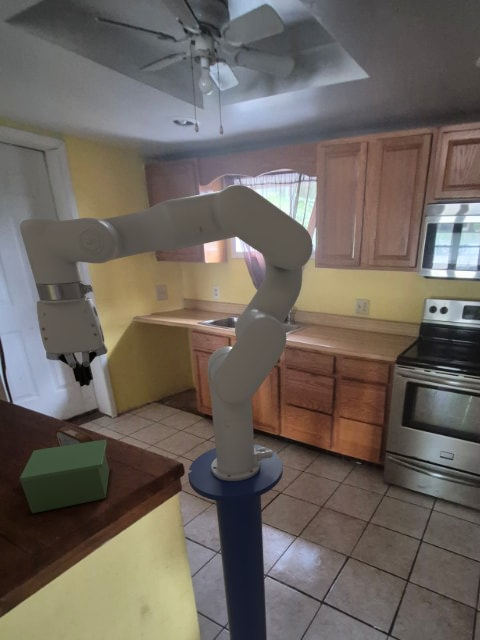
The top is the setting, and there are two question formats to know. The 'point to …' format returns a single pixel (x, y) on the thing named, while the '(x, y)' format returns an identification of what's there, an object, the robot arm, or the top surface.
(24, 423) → the top surface
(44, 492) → the chest
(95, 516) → the top surface
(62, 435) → the tin
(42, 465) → the lid
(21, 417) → the top surface
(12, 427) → the top surface
